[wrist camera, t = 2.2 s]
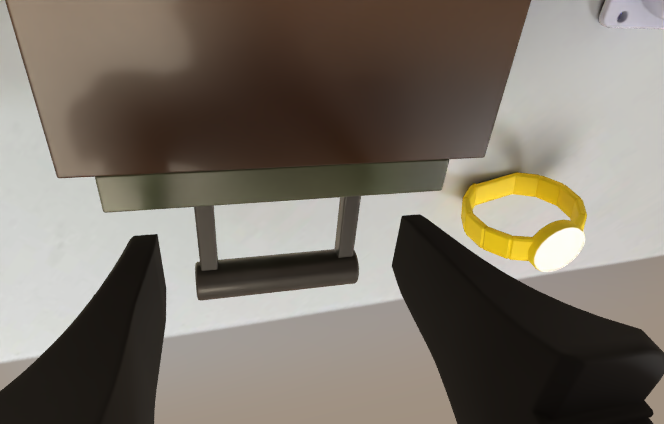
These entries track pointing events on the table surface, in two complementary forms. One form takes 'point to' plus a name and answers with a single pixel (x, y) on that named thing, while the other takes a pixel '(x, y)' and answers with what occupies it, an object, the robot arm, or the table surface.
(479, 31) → the cabinet
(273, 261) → the drawer
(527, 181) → the watch
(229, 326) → the table surface
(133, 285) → the robot arm
